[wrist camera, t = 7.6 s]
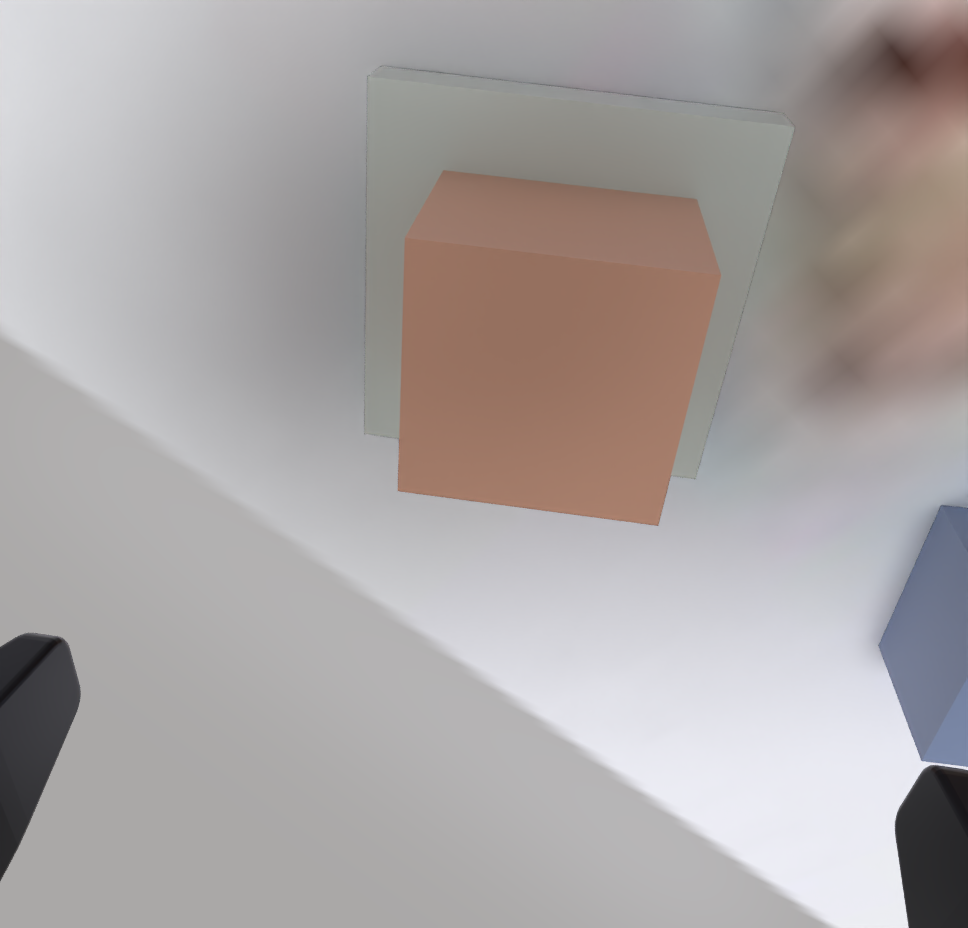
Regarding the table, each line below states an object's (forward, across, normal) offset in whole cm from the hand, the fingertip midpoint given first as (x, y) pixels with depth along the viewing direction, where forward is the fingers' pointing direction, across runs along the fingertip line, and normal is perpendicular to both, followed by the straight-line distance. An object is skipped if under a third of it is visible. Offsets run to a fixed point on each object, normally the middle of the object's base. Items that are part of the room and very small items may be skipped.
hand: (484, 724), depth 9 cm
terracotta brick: (+11, 0, 0) cm, 11 cm away
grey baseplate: (+12, 0, 0) cm, 12 cm away
